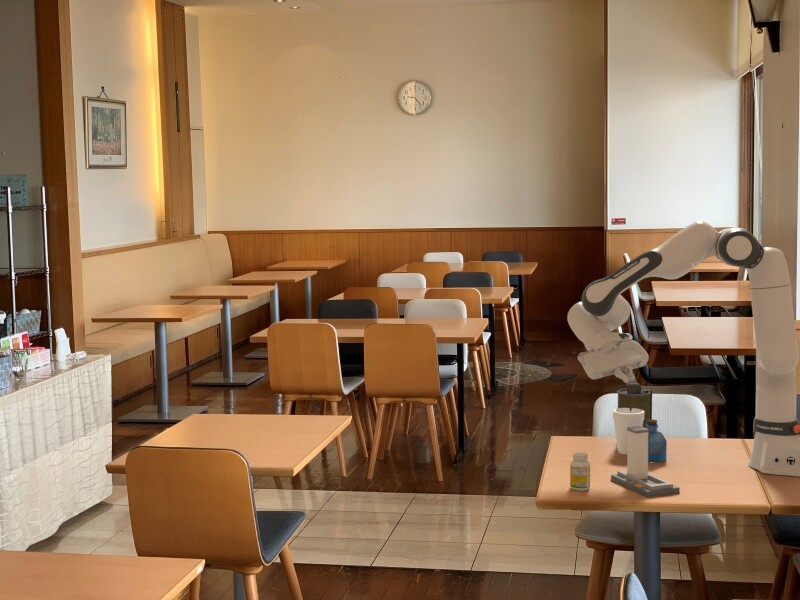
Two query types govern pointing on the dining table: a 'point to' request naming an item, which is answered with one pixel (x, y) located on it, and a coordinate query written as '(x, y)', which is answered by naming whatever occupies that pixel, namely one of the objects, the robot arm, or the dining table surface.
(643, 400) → the canister
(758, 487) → the dining table surface
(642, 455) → the cream rectangular block
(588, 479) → the supplement bottle
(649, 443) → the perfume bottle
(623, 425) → the foam cup
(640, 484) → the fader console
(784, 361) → the robot arm
